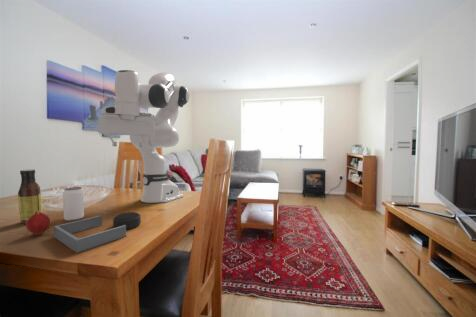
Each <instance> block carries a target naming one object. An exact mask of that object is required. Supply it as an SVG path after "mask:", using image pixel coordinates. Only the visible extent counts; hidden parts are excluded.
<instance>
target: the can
mask: <svg viewBox="0 0 476 317" xmlns="http://www.w3.org/2000/svg"><path fill="white" fill-rule="evenodd" d="M84 202H85V201H84V191H83V189H82V187H80V186H79V187H78V186H74V187H73V186H72V187H67V188H66V187H65V188H64V189H63V193H62V204H63V209H62V210H63V220H64V221H68V222H69V221H70V222H73V221H79V220H82V218H84V217H85V207H84V206H85V204H84Z"/></svg>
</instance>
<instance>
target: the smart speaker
mask: <svg viewBox="0 0 476 317" xmlns="http://www.w3.org/2000/svg"><path fill="white" fill-rule="evenodd" d="M112 220H113V222H112V223H113V228H116V227H120V226H123V225H126V230H131V229H134V228H137V227H139V225H140V224H141V222H142V221H141V220H142V218H141V214H140V213H139V212H134V211H131V212H123V213H120V214H117V215H115V216H114V217H113V219H112Z"/></svg>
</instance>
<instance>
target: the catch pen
mask: <svg viewBox="0 0 476 317" xmlns="http://www.w3.org/2000/svg"><path fill="white" fill-rule="evenodd" d="M102 219H103V218H102V215H101V214H100V215H97V216H92V217H89V218H88V217H87V218H84V219H78V220H73V221H70V222H67V223H62V224H59V225H54V226H53V237H54V239H56V240H58V241H59V242H60V243H62V244H64V245H65V246H66V247H68V248H69V249H70V250H72V251H73V252H75V253H77V254H78V253H81V252H83V251H87V250H89V249H92V248H96V247H99V246H101V245H104V244H105V245H106V244H107V243H110V242H113V241H116V240H119V239H122V238H125V237H127V229H126V225H123V226H120V227H116V228H114V227H113V228H109V229H106V230H103V231H100V232H96V233H94V234H93V233H92V234H90V235H87V236H83V237H80V238H79V237H77V236H75V235H73V234H74V233H79V232H83V231H84V230H88V229H92V228H96V227H100V226H102V224H103V223H102Z"/></svg>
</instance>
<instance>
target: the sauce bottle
mask: <svg viewBox="0 0 476 317" xmlns="http://www.w3.org/2000/svg"><path fill="white" fill-rule="evenodd" d="M19 173H20V178H21V179H20V180H21V181H20V182H21V183H20V187H19V188H18V192H17V198H18V210H19V219H20V222H21V224H22V225H23V224H24V225H25V224H26V223H27V221H28V220H29V218H30V217H31V216H33V215H34V214H35V212H36V211H40V212H41V213H43V206H42V204H43V203H42V202H43V201H42V193H41V186H40V185H39V184H38V182H36V169H34V168H29V169H21V170H20V171H19Z"/></svg>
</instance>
